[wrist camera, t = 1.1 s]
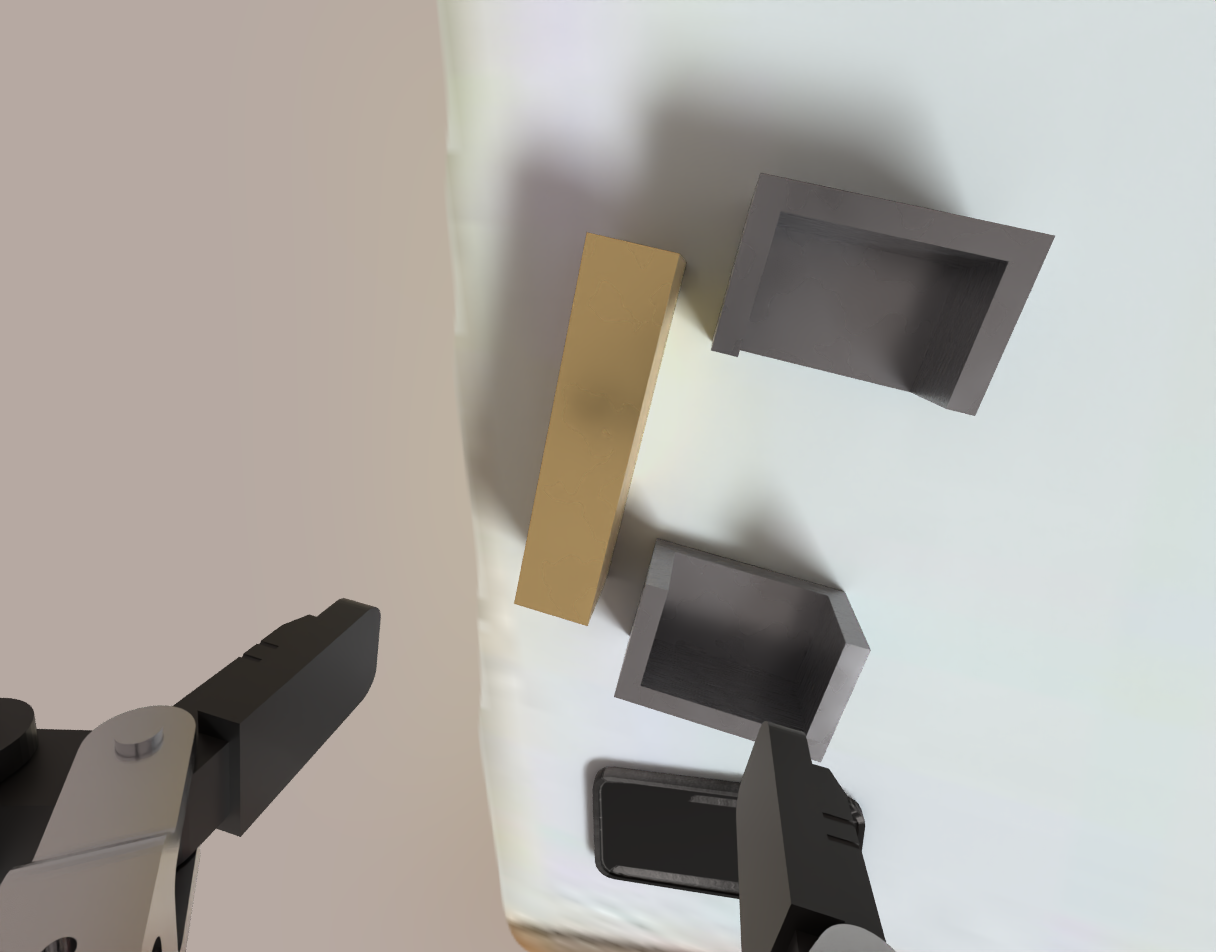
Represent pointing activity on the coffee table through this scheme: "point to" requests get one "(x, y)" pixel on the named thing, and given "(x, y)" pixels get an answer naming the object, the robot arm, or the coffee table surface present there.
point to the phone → (672, 830)
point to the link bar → (597, 422)
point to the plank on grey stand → (846, 345)
